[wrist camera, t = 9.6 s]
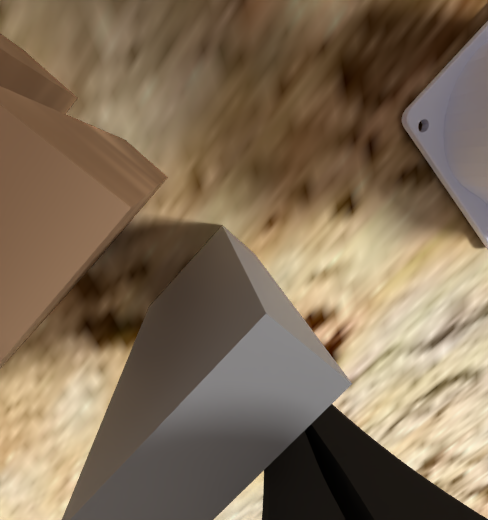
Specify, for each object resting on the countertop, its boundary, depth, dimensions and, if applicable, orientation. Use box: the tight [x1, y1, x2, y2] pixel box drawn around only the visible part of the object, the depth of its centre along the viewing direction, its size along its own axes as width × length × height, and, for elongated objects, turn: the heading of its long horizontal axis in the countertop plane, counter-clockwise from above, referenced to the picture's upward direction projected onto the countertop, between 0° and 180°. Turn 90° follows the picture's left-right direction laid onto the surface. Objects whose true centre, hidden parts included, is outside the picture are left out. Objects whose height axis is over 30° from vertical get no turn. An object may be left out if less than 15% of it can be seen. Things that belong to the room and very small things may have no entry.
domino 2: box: [62, 225, 352, 520], centre depth 9 cm, size 2×5×9 cm, turn 136°
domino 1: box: [0, 86, 168, 368], centre depth 8 cm, size 2×5×9 cm, turn 137°
